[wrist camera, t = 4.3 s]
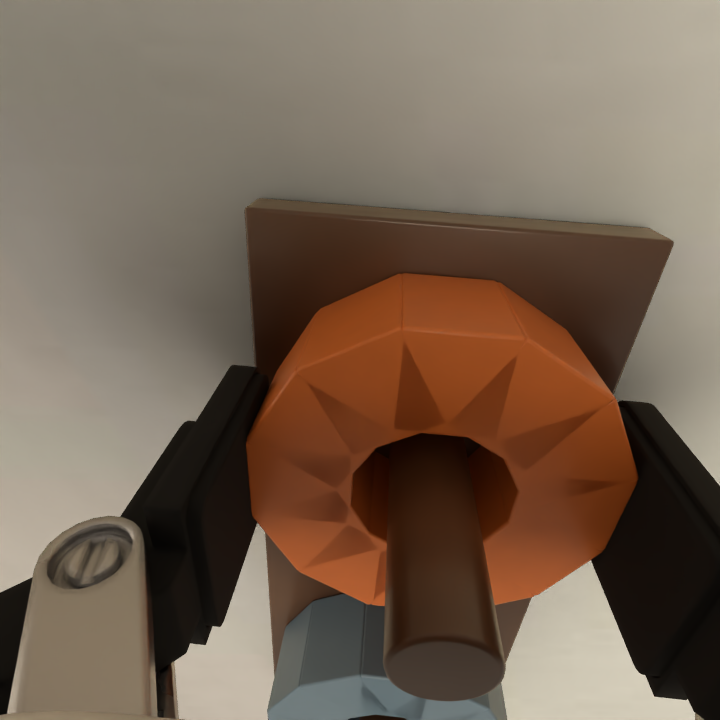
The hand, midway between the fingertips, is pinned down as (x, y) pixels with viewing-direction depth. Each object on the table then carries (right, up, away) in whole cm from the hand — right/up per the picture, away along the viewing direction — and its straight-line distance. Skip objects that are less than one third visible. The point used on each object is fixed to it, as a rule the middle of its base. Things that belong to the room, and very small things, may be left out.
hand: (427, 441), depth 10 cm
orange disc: (0, 0, +1) cm, 1 cm away
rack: (0, -3, +4) cm, 5 cm away
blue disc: (-1, -8, +6) cm, 10 cm away
